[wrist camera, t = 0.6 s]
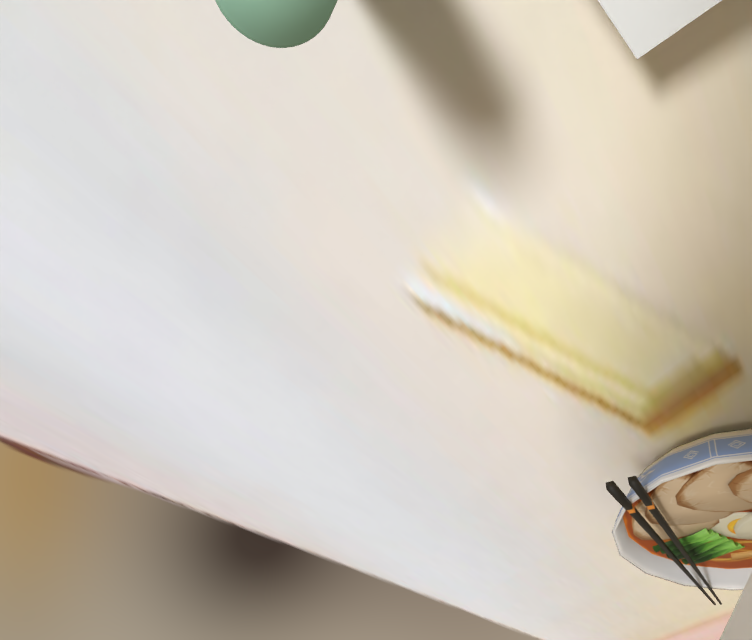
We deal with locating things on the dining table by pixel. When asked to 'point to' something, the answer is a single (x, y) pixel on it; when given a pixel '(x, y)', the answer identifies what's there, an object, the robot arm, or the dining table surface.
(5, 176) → the dining table surface
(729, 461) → the ramen bowl
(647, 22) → the white square hole block
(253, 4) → the tall pin
